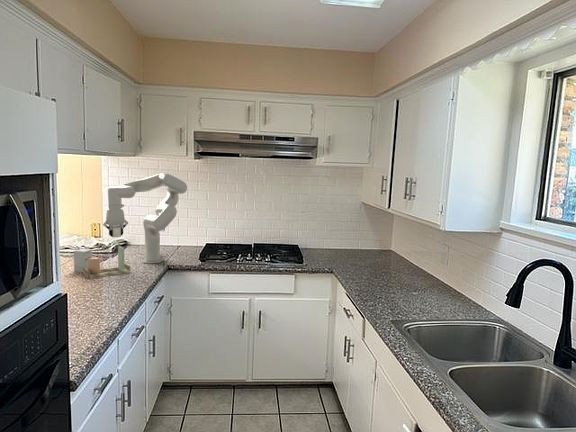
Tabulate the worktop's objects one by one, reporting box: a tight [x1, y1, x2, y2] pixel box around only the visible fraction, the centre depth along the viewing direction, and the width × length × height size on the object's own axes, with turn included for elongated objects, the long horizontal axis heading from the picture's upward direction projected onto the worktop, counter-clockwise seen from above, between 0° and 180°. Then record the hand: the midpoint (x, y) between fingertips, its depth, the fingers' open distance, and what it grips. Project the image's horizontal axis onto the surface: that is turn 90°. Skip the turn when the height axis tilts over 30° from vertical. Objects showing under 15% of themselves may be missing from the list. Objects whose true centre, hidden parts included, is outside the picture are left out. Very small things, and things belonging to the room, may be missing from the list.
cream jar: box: [111, 225, 122, 239], centre depth 254 cm, size 6×6×7 cm
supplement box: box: [73, 248, 93, 273], centre depth 247 cm, size 7×7×13 cm
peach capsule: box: [88, 256, 101, 275], centre depth 238 cm, size 6×6×10 cm
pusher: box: [117, 245, 127, 271], centre depth 249 cm, size 3×8×15 cm, turn 40°
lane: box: [82, 261, 131, 279], centre depth 243 cm, size 24×11×4 cm, turn 130°
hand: (116, 235), depth 254 cm, fingers closed on cream jar, 5 cm apart
